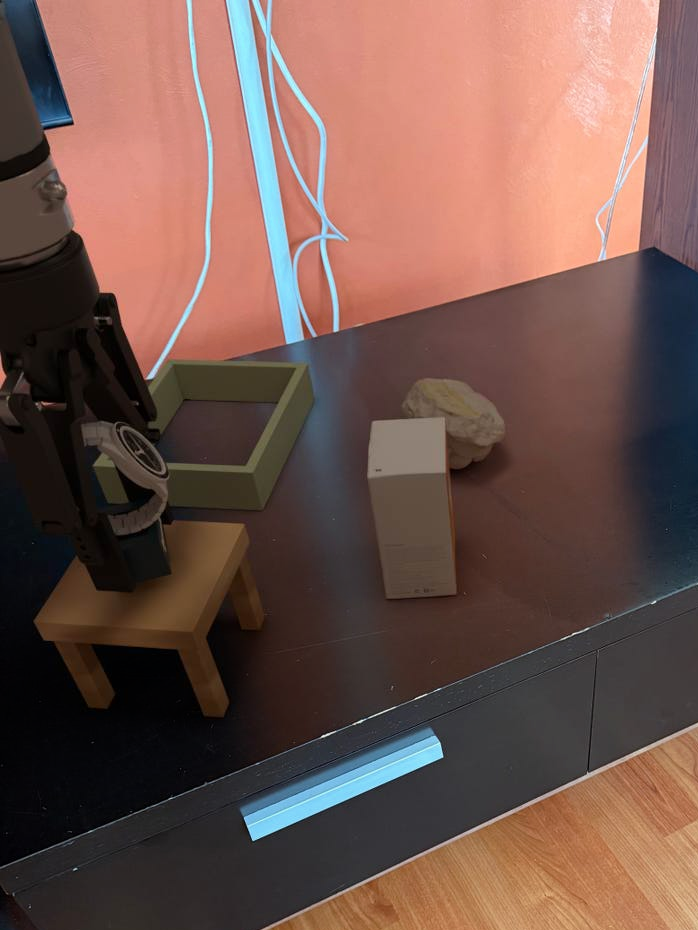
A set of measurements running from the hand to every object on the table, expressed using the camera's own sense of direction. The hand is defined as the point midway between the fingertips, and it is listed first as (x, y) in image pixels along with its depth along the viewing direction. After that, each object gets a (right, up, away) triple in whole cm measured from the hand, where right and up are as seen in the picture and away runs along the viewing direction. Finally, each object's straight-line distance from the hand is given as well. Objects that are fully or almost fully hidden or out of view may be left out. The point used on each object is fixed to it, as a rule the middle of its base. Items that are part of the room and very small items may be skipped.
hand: (136, 553), depth 70 cm
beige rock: (+23, +13, +27) cm, 38 cm away
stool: (+1, -8, +8) cm, 12 cm away
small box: (+20, 0, +15) cm, 25 cm away
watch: (0, 0, +1) cm, 1 cm away
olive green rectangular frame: (-2, +14, +30) cm, 33 cm away
